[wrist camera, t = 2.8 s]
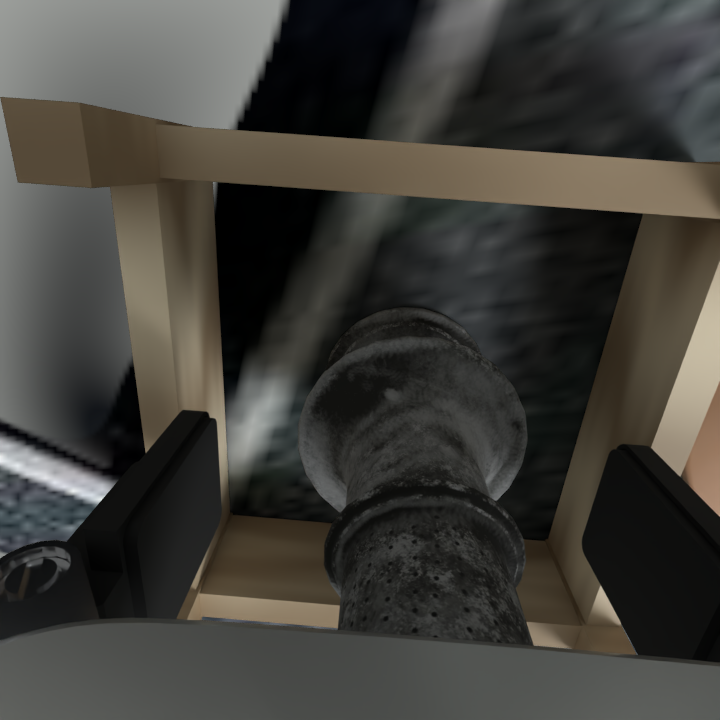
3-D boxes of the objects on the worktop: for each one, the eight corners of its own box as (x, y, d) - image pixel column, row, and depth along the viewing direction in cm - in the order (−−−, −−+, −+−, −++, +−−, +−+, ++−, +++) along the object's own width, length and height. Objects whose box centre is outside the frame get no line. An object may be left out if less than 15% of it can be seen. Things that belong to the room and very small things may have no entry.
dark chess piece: (467, 473, 16) (646, 1110, 5) (304, 443, 16) (136, 1039, 5) (520, 317, 14) (1024, 863, 3) (330, 280, 14) (132, 720, 3)
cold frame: (169, 128, 12) (-1, 97, 7) (699, 166, 12) (960, 165, 7) (203, 534, 18) (124, 698, 12) (569, 565, 18) (654, 746, 12)
